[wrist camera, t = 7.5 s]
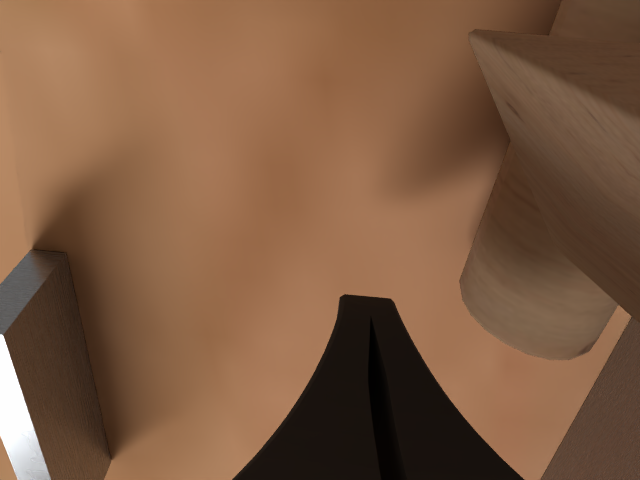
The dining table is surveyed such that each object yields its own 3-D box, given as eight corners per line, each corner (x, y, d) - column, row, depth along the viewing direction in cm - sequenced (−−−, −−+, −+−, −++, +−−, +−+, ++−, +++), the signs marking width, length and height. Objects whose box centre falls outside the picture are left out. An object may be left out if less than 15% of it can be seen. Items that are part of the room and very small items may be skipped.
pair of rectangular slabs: (671, 312, 18) (742, 405, 15) (554, 502, 25) (586, 595, 22) (30, 249, 18) (-41, 330, 15) (85, 459, 25) (44, 548, 21)
